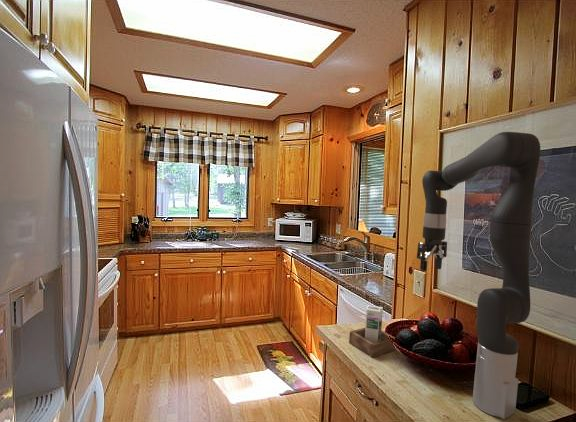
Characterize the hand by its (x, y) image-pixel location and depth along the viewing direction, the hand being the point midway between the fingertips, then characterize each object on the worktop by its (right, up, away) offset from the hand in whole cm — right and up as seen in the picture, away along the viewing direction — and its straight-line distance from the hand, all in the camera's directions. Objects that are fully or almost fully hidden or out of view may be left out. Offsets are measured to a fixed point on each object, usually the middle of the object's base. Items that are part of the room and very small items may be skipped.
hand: (430, 269), depth 120 cm
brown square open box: (-21, -29, +2) cm, 36 cm away
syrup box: (-21, -29, +2) cm, 36 cm away
